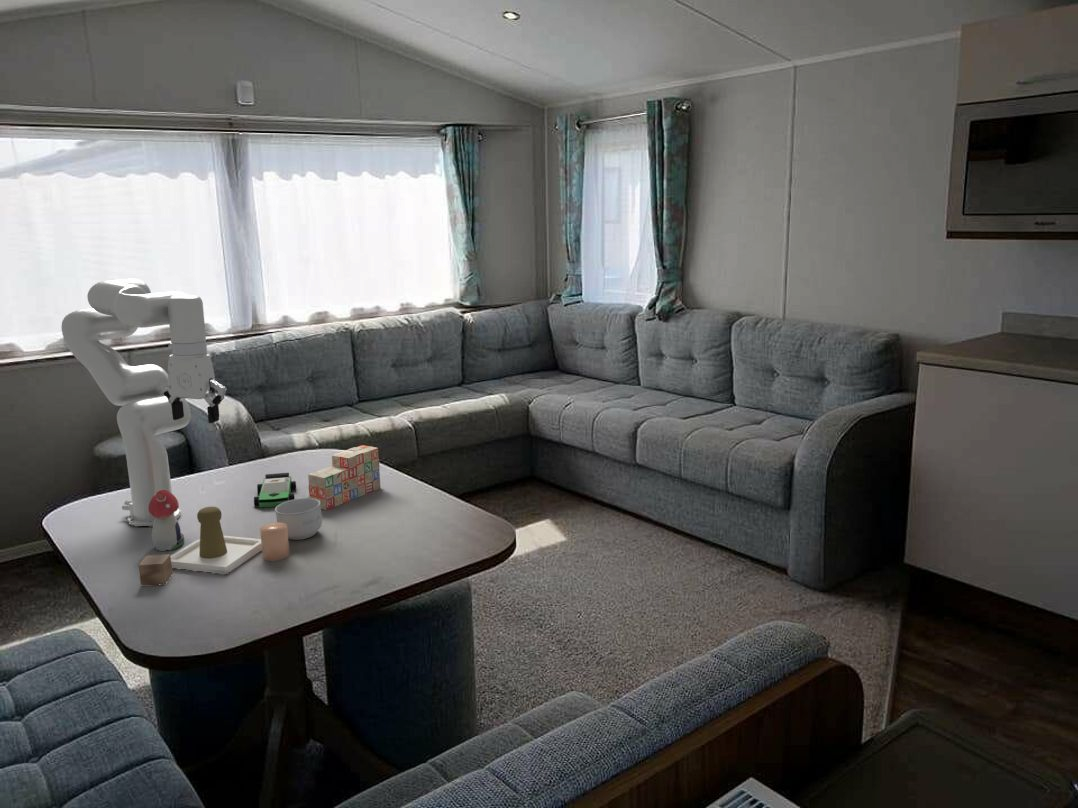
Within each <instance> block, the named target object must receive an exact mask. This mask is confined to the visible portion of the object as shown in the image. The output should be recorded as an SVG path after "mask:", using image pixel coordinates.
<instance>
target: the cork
mask: <svg viewBox="0 0 1078 808" xmlns="http://www.w3.org/2000/svg"><path fill="white" fill-rule="evenodd" d="M196 517H197V521H198V523H200V528H199V530H200V532H199V533H200V536H199V539H200V554H199V555H200V557H202V558H208V559H210V558H217V557H220V556H223V555H225V554H226V553H227V548H226V544H225V540H224V536H225V535H224V533H223V529H222V526H221V522H220V521H221V520H222V511H221V509H220V508H219V507H216V506H206V507H203V508H200V509H199V510H198V512H197V515H196Z"/></svg>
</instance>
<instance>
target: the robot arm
mask: <svg viewBox="0 0 1078 808" xmlns="http://www.w3.org/2000/svg"><path fill="white" fill-rule="evenodd" d="M151 292H152V291H151V289H150V287H149V285H148V284H147V283H146V282H144V281H142V280H141V279H138V278H127V279H115V280H114V279H113V280H103V281H100V282H97V283H95V284H94V285H92V286H91V287H90V288H89V290H88V292H87V295H86V297H87V301H88V305H90V307H91V308H84V309H83V308H82V309H78V310H75V311H72V312H70V313H68V314H65V316H64V318H63V319H62V321H61V334H62V337H63V339H64V342H65V345H66V347H67V348H68V349H69V351H70V353H71V354H72V355H73V356H74V357H75V358H76V359H77V361H79V362H80V363H81V364H82V365H83V366H84V367H85V368H86V369H87V371H88V372H89V373H90V374H91V376H92V378H93V379H94V381H95V382H96V384H97V385H98V387H99V389H101V392H102V393H103V394H104V396H105V397H106V398H107V400H108V401H109V402H110V403H111V404H113V405H114V406H121V407H120V408H119V409H118V411H117V414H116V422H117V426H118V429H119V432H120V434H121V438H122V441H123V445H124V450H125V458H126V464H127V472H128V480H129V487H130V495H131V499H130V500H129V499H126V500H125V501H124V503H123V504H122V506H121V509H122V511H129V513H130V515H128V516H127V523H128V522H129V523H130V524H132V525H131V526H133V525H136V526H135V527H138V526H149V527H153V524H154V521H155V517H154V516H152V515H151V514H150V513H149V511H148V506H149V503H150V501H151V499H152V497H153V496H154V495H155V494H156V493H157V492H158V491H160V490H167V491H169V492H171V493H172V494H173V491H172V483H171V474H170V473H171V472H170V466H169V458H168V452H167V449H166V447H165V445H163V443H161V442H160V440H159V439H157V435H161V434H164V433H169V432H173V431H177V430H180V429H183V428H185V427H186V426H188V424H189V423H190V421H191V419H192V412H191V408H190V405H189V403H188V401H187V400H186V399H190V400H202V399H203V400H204V401H205V402H206V403H207V405H209V406H207V418H208V419H207V420H208V423H209V424H213V423H215V422H218V421H220V408H219V406H220V404H221V403H222V401H223V400H224V399H225V395H226V393H227V390H228V389H227V387H226V386H225V385H223V384H221V383H220V382H218V381H216V377H215V376H216V375H215V371H214V366H213V362H212V359H211V356H210V353H209V354H208V346H207V337H206V335H207V334H206V325H205V324H206V323H205V313H204V303H203V300H202V298H201V297H200V296H198V295H195V294H187V293H185V292H182V291H166V292H155V293H154V292H153V293H151ZM167 325H168V326H169V333H170V342H169V343H168V346H167V347H168V348H169V349H171V354H170V355H169V357H168V362H167V363H168V364H167V370H165V369H164V368H162V366H159V365H157V364H151V363H149V364H143V365H141V364H140V365H136V366H134V365H129V364H128V363H127V362H126V361H125V359H124V358H123V356H122V355H121V354H120V353H119V352H118V351H117V350H115V349H114V348H112V347H110V346H109V345H107V344H105V343H102V341H106V340H113V339H120V338H127V337H130V336H132V335H133V334H134V333H136V331H137V330H138V329H139V328H142V329H143V328H150V327H151V328H152V327H158V326H159V327H160V326H167ZM216 393H217V394H216ZM181 512H182V511H181V509H180V507H179V508H178V510H177V511H175V512H174V513H173V515H174V516H175V517H176V519H177V520H178V519H179V518H180V517H181V516H182V515H181V514H182V513H181ZM179 516H180V517H179ZM129 523H128V524H129ZM130 524H129V525H130Z"/></svg>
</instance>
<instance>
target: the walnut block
mask: <svg viewBox="0 0 1078 808" xmlns="http://www.w3.org/2000/svg"><path fill="white" fill-rule="evenodd" d="M138 570H139V571H138V572H139V579H140V580H139V581H140V586H141V585H157V586H160V585H159V584H166V582H167V581H168V580H169V578H170V577H171V575H172V574H174V573H173V569H172V565H171V554H150V555H149V554H148V555H145V556H144V558H143V559H142V560H141V561H140V562H139V564H138ZM171 578H172V577H171ZM171 578H170V579H171ZM169 581H170V580H169ZM169 581H168V582H169ZM168 582H167V583H168ZM166 585H167V584H166Z"/></svg>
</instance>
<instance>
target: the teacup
mask: <svg viewBox="0 0 1078 808" xmlns="http://www.w3.org/2000/svg"><path fill="white" fill-rule="evenodd" d="M320 505H321V503H320V501H319V500H317V499H312V498H310V497H309V495H305V496H303V497H302V498H295V499H294V500H290V501H287V502H284V503H281V504H280V505H278V506H275V508H274V512H275V516H276V522H279V523H285V524H287V529H288V540H293V541H294V540H298V541H299V540H305V539H309V538H311V537H313V536H314V535H315V534H316V533H317V532H318V531H319V530H320V529H321V527H322V523H323V517H322V509H321V507H320Z"/></svg>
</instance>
